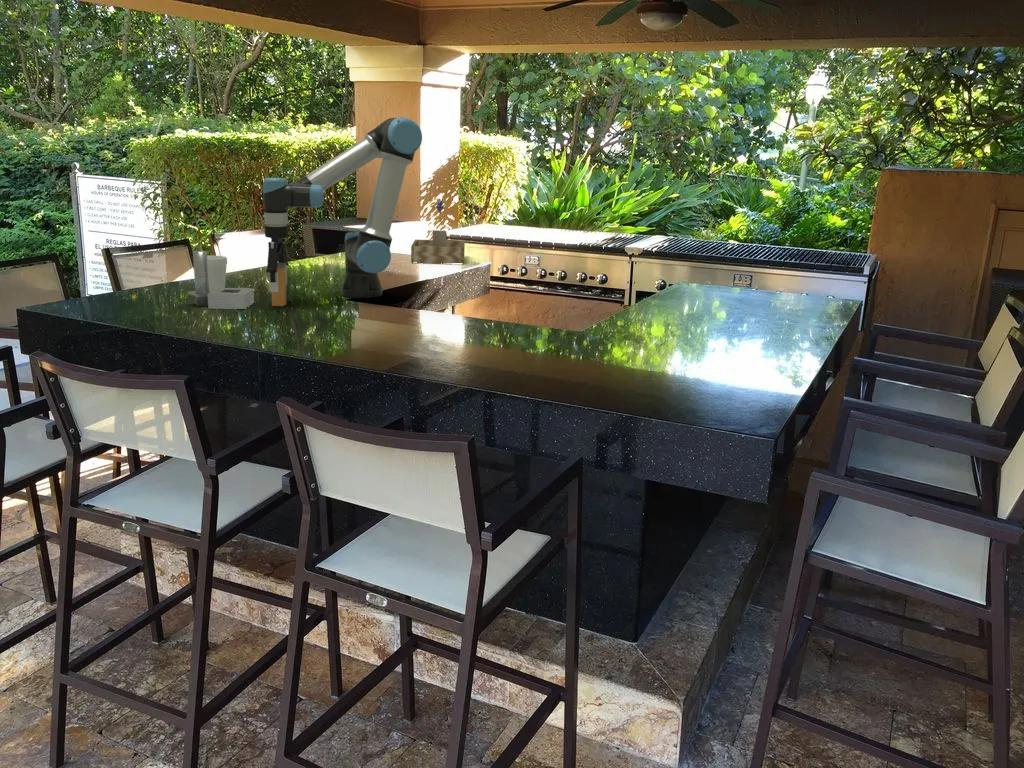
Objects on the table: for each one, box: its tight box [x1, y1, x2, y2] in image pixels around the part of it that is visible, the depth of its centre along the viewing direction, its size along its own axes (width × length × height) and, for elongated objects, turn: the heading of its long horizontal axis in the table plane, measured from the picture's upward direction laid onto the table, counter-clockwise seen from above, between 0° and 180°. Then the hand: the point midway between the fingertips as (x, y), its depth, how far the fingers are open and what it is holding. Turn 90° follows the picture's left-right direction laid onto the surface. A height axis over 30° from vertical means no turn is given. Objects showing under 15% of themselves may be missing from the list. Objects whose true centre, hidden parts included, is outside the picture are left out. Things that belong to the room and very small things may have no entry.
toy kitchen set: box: [422, 229, 449, 247], centre depth 411 cm, size 18×17×15 cm
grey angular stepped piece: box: [187, 250, 255, 310], centre depth 292 cm, size 20×24×18 cm
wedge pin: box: [271, 263, 287, 307], centre depth 292 cm, size 5×5×14 cm
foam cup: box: [207, 255, 228, 291], centre depth 308 cm, size 10×9×13 cm
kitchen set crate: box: [410, 239, 466, 265], centre depth 412 cm, size 24×26×8 cm
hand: (278, 288), depth 292 cm, fingers open, 13 cm apart
